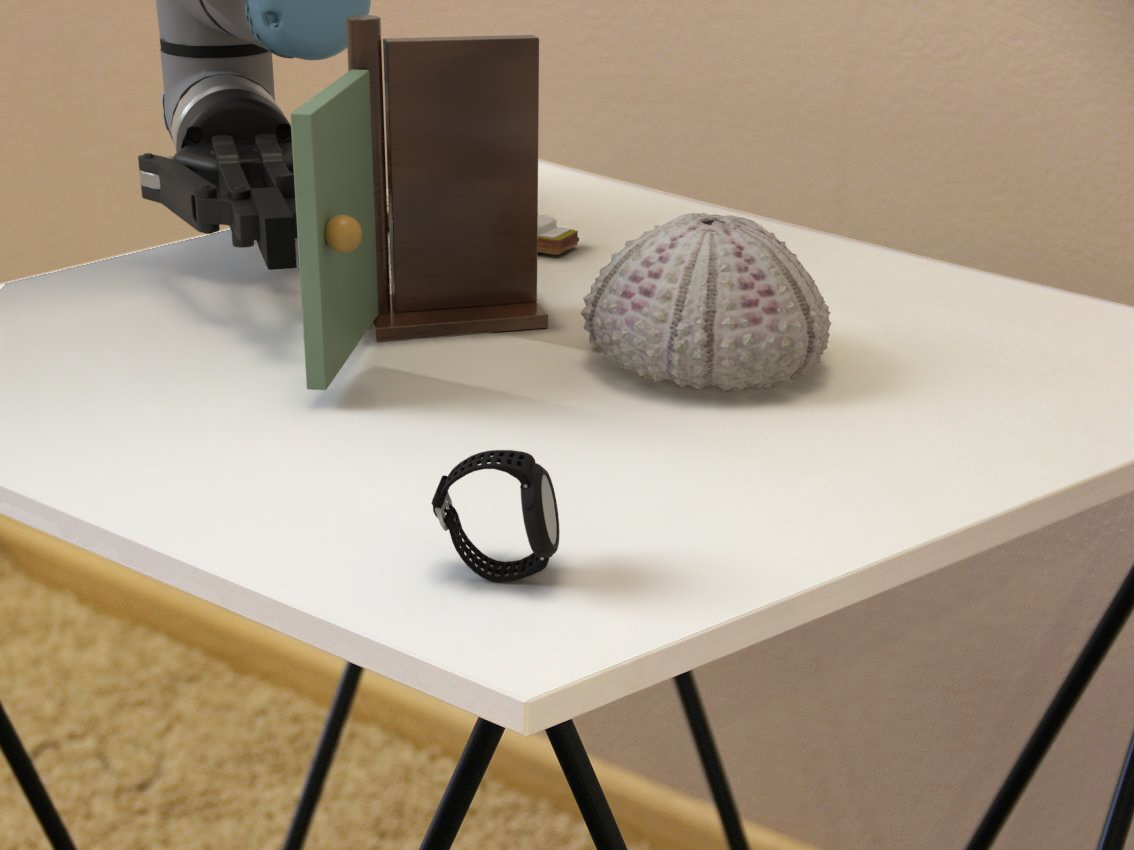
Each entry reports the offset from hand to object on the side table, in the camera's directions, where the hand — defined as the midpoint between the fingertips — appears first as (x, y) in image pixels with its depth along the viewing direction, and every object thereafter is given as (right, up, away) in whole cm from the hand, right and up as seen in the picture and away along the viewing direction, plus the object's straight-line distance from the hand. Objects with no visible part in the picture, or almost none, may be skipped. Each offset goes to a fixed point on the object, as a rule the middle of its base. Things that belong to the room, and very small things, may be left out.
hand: (280, 243), depth 78 cm
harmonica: (+8, +5, +26) cm, 28 cm away
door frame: (+8, -3, +10) cm, 13 cm away
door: (+4, -5, +2) cm, 7 cm away
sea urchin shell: (+22, -6, +5) cm, 23 cm away
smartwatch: (+12, -16, -18) cm, 27 cm away
